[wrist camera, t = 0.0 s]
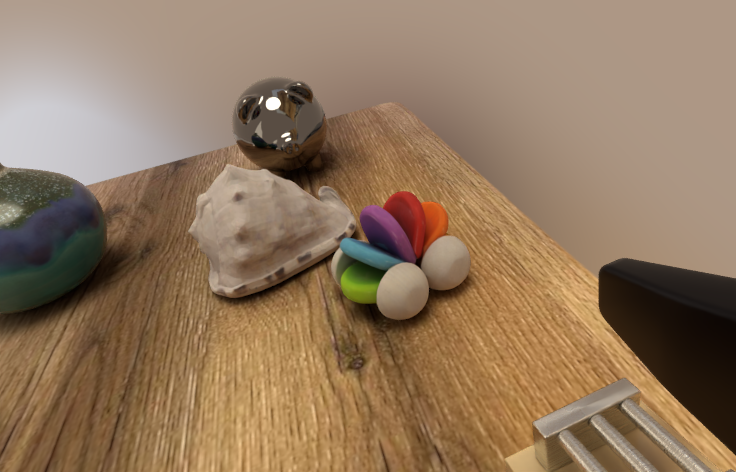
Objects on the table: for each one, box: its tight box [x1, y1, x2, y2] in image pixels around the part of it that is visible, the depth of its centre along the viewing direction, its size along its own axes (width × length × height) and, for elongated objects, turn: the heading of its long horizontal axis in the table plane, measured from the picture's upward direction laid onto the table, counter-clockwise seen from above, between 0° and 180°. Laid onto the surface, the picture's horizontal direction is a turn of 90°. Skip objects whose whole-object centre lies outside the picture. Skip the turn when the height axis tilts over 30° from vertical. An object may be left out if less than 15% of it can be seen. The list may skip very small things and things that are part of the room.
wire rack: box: [532, 378, 735, 472], centre depth 17 cm, size 5×4×2 cm
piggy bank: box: [232, 77, 327, 179], centre depth 62 cm, size 11×15×12 cm
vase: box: [0, 163, 107, 314], centre depth 48 cm, size 15×15×13 cm
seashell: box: [188, 164, 356, 298], centre depth 45 cm, size 12×14×10 cm
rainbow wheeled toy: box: [331, 191, 470, 320], centre depth 37 cm, size 8×10×7 cm
